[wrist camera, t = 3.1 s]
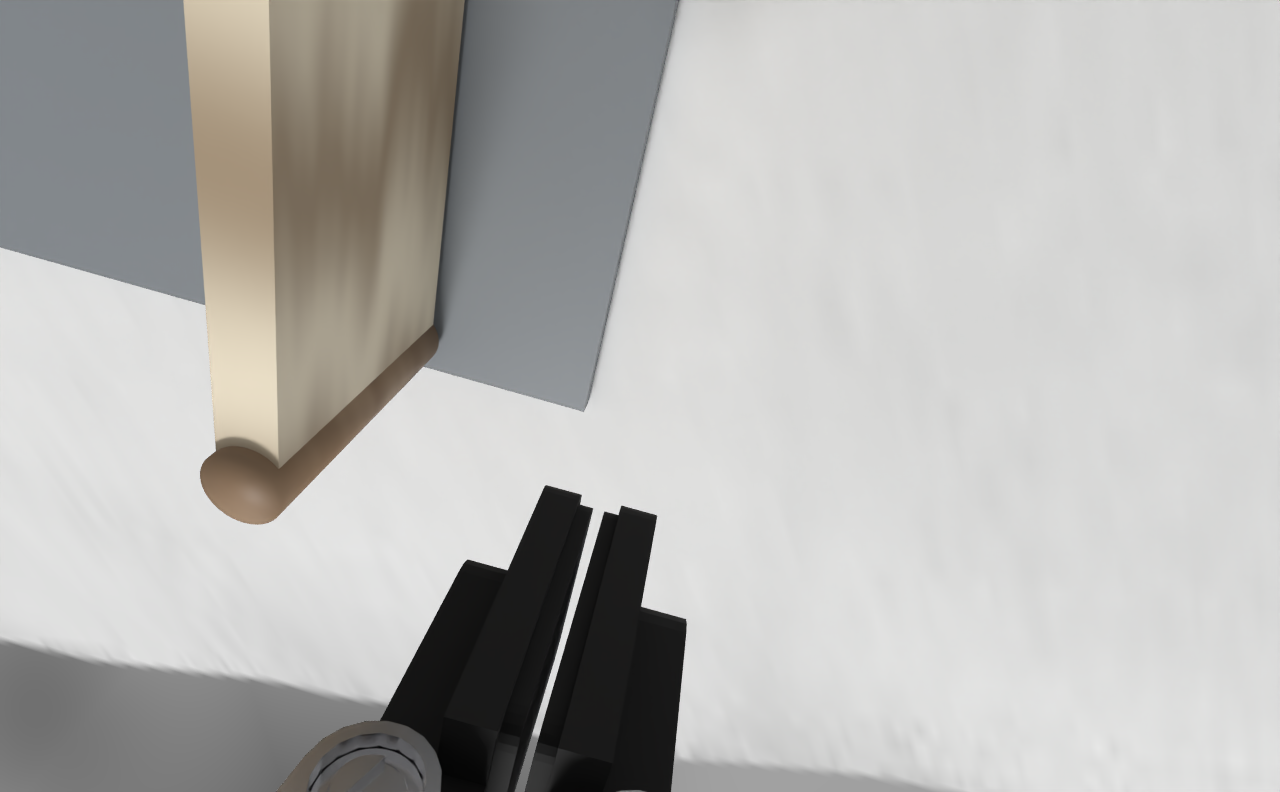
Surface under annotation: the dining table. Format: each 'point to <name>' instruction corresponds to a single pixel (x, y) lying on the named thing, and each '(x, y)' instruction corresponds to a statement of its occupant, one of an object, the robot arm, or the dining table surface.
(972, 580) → the dining table surface
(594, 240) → the board
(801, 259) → the dining table surface
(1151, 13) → the dining table surface
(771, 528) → the dining table surface
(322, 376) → the fence gate
